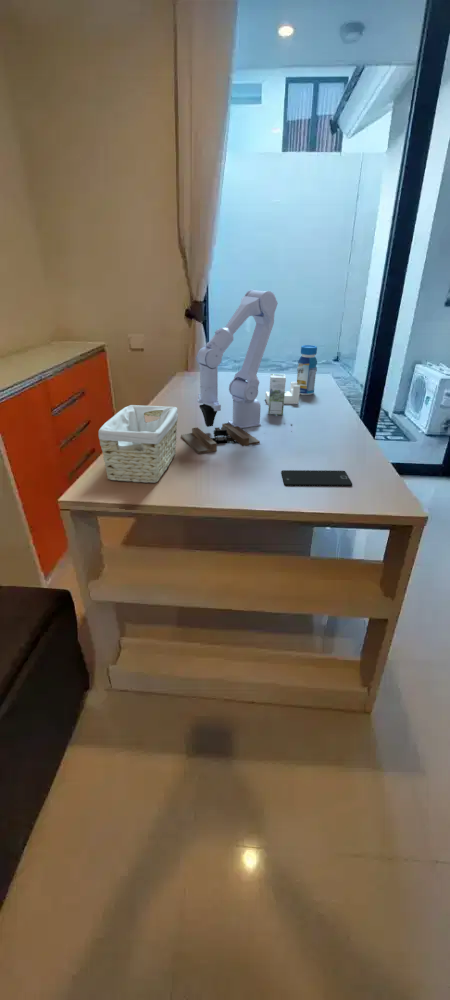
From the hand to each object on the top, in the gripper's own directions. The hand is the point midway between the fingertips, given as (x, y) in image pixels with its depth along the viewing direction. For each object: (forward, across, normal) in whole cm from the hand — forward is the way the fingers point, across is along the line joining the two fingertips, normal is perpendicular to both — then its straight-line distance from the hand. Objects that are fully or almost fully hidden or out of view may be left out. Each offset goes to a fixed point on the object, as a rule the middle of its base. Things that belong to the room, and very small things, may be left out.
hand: (209, 425), depth 150 cm
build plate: (+3, +9, 0) cm, 9 cm away
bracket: (+3, -22, +42) cm, 48 cm away
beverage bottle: (+2, -30, +59) cm, 66 cm away
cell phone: (+3, +46, +12) cm, 47 cm away
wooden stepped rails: (+2, +9, 0) cm, 9 cm away
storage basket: (+3, +19, -28) cm, 34 cm away
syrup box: (+2, -10, +32) cm, 33 cm away
